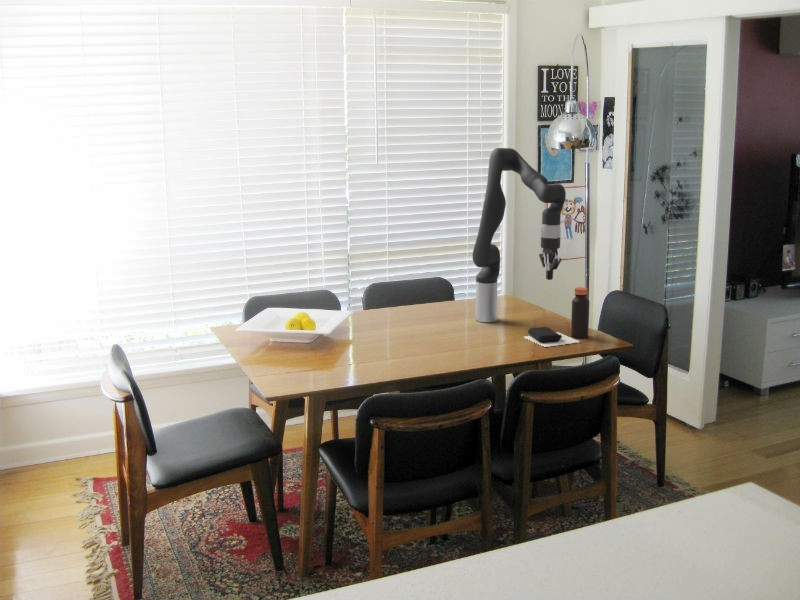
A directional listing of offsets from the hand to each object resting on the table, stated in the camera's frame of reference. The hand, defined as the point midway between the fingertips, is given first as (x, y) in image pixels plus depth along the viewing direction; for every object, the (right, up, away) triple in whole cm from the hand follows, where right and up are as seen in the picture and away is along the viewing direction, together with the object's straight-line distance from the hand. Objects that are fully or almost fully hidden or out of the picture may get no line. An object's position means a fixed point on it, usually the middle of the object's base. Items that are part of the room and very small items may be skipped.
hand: (549, 279), depth 333 cm
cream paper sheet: (+1, -24, +3) cm, 24 cm away
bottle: (+13, -23, +8) cm, 28 cm away
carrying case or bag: (-3, -20, +11) cm, 23 cm away
